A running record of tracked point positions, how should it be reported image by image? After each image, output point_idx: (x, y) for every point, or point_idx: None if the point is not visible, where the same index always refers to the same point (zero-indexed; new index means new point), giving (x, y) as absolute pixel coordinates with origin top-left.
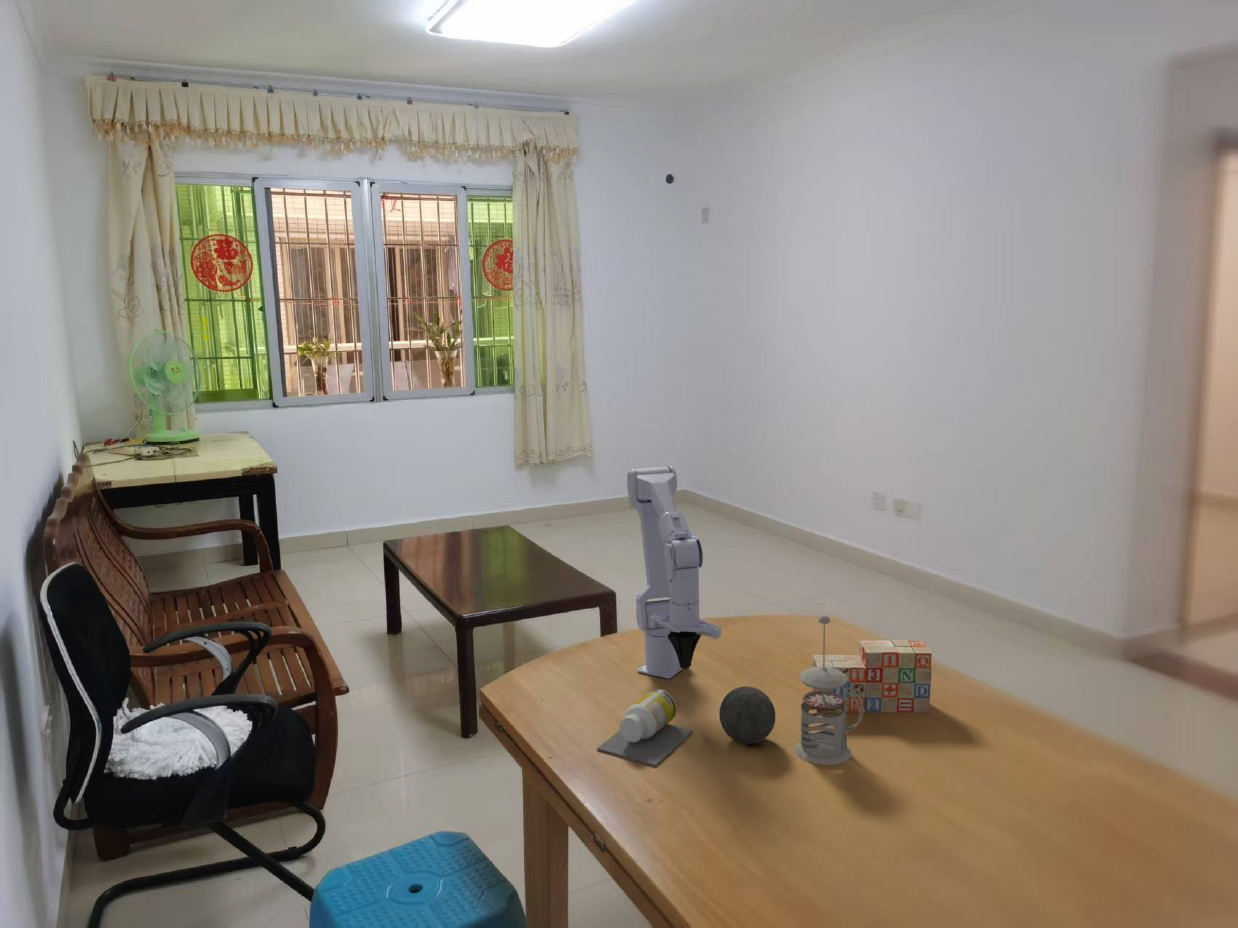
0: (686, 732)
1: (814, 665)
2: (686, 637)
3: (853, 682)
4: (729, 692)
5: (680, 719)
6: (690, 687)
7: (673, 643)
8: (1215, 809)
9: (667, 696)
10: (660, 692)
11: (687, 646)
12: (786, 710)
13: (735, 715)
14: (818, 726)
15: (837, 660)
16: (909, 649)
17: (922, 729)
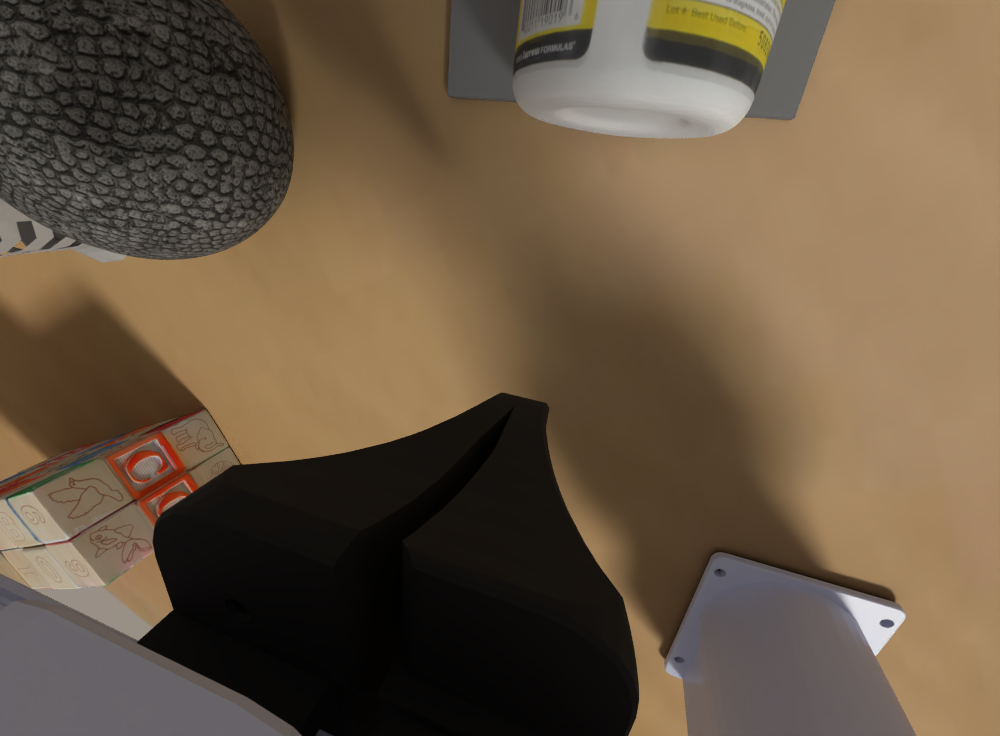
0: (467, 57)
1: (104, 533)
2: (217, 550)
3: (47, 473)
4: (85, 94)
5: (551, 205)
6: (604, 495)
7: (540, 524)
8: None
9: (547, 28)
10: (609, 10)
11: (334, 460)
12: (265, 396)
13: None
14: (62, 244)
15: (35, 550)
16: None
17: (24, 376)
